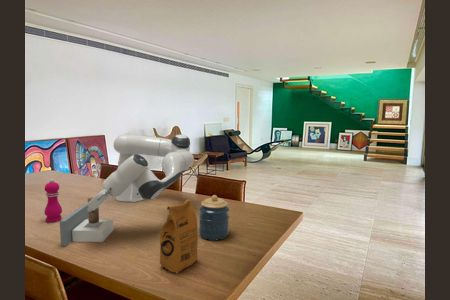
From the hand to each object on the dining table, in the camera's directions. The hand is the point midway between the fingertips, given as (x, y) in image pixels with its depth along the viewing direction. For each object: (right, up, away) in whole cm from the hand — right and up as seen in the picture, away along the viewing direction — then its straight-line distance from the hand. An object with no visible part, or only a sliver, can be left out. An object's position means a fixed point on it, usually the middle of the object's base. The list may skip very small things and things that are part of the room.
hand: (91, 208), depth 121 cm
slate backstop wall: (-7, -12, +1) cm, 14 cm away
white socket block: (0, -12, +2) cm, 12 cm away
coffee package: (+39, -16, -19) cm, 47 cm away
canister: (+51, -13, +5) cm, 53 cm away
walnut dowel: (+1, -6, +1) cm, 6 cm away
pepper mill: (-26, -9, +17) cm, 32 cm away
